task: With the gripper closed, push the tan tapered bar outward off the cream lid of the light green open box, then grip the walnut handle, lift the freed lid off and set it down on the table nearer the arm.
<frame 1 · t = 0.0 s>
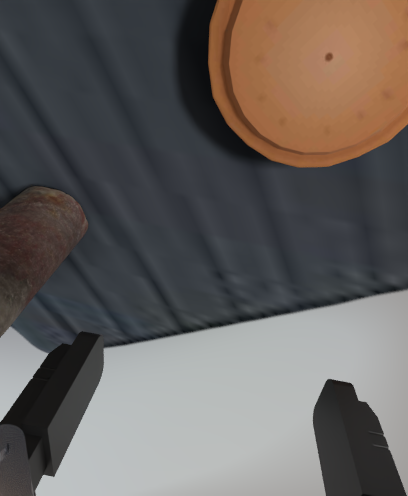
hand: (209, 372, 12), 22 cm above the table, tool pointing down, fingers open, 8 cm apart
candle: (56, 211, 37), on the table
pie: (317, 48, 25), on the table
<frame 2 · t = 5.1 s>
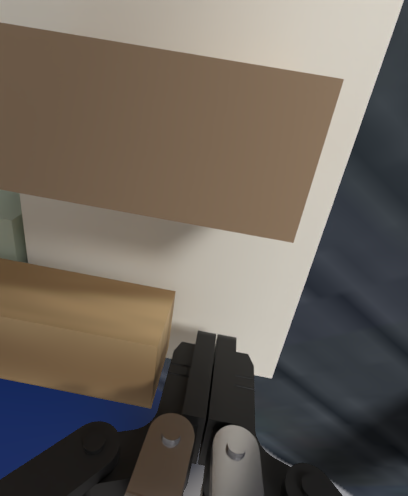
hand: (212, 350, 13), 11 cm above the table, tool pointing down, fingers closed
tan tapered bar: (22, 335, 12), point 12 cm above the table, slide at 0.3 cm, touching gripper
light green open box: (208, 90, 19), on the table
lid: (185, 104, 12), point 8 cm above the table, touching light green open box
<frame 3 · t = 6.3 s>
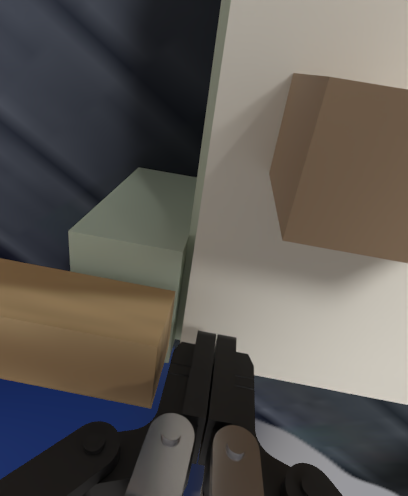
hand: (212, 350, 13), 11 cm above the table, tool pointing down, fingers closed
tan tapered bar: (22, 335, 12), point 12 cm above the table, slide at 7.0 cm, touching gripper
light green open box: (328, 111, 19), on the table
lid: (376, 137, 12), point 8 cm above the table, touching light green open box
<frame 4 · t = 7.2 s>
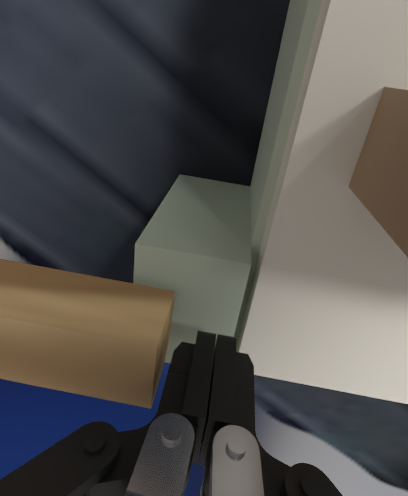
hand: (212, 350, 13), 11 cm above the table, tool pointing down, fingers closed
tan tapered bar: (22, 336, 12), point 12 cm above the table, slide at 9.7 cm, touching gripper
light green open box: (376, 118, 19), on the table
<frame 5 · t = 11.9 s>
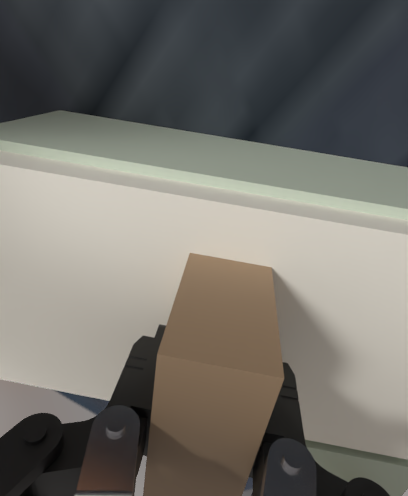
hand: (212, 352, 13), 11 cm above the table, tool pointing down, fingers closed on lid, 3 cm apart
light green open box: (228, 233, 22), on the table
lid: (218, 309, 15), point 8 cm above the table, touching gripper, light green open box
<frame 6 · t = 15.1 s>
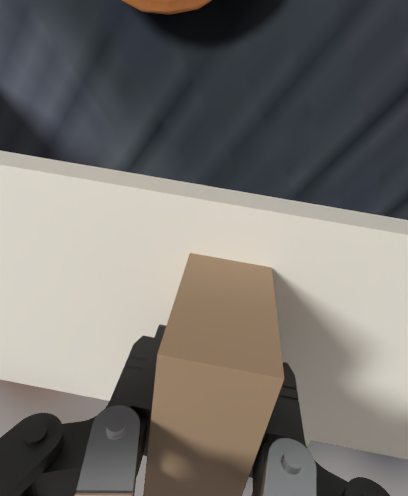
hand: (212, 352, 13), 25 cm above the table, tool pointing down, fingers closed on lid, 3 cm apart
lid: (218, 309, 15), point 22 cm above the table, touching gripper
when the fingers open (4 cm above the table, at t = 18.4 s): lid drops 2 cm, on the table.
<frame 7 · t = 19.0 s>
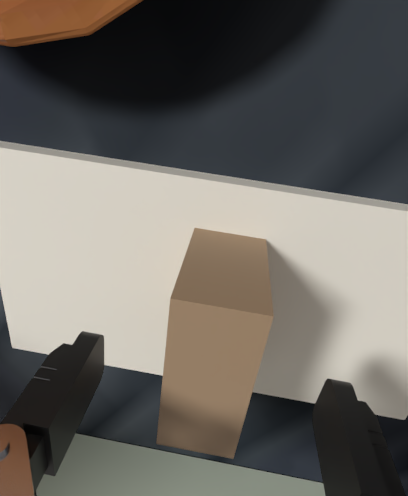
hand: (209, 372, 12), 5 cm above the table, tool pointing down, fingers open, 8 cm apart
lid: (220, 282, 17), on the table
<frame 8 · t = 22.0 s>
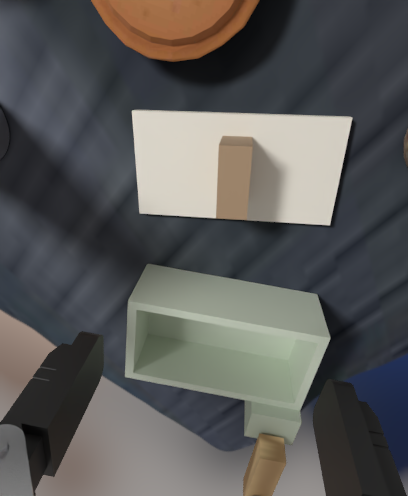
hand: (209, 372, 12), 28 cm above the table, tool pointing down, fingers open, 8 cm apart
tan tapered bar: (263, 477, 42), point 12 cm above the table, slide at 9.7 cm
light green open box: (223, 315, 46), on the table
lid: (235, 166, 37), on the table
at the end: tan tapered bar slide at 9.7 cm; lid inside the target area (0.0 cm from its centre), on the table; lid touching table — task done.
